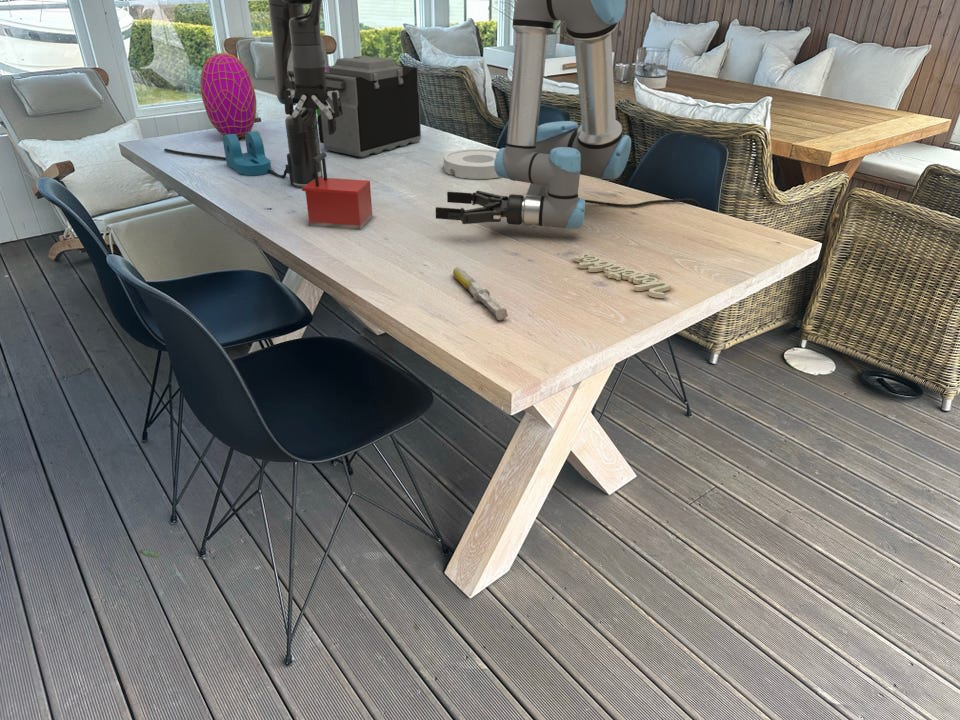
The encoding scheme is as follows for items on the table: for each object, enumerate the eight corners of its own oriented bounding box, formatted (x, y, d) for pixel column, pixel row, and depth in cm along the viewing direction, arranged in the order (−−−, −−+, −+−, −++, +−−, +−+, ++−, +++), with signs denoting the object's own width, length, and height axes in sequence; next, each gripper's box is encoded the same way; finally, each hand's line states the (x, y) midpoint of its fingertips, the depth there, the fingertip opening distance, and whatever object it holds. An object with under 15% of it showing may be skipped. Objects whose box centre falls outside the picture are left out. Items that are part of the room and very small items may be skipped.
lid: (302, 190, 177) (298, 159, 173) (317, 180, 186) (313, 149, 182) (357, 194, 175) (355, 162, 171) (370, 183, 184) (367, 152, 180)
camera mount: (227, 164, 233) (221, 132, 227) (257, 160, 238) (252, 129, 233) (244, 176, 220) (239, 143, 215) (276, 172, 225) (271, 139, 220)
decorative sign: (686, 282, 150) (660, 295, 144) (686, 286, 150) (659, 300, 144) (592, 249, 166) (565, 259, 160) (592, 253, 167) (565, 263, 161)
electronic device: (383, 133, 276) (378, 52, 261) (425, 141, 265) (422, 56, 250) (314, 150, 251) (304, 61, 235) (358, 160, 240) (350, 67, 224)
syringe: (449, 274, 155) (449, 263, 153) (465, 272, 156) (464, 260, 154) (490, 323, 135) (491, 310, 133) (508, 319, 136) (508, 307, 134)
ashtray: (446, 160, 241) (446, 148, 239) (512, 161, 241) (512, 149, 239) (441, 178, 221) (440, 165, 219) (512, 179, 221) (513, 167, 219)
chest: (309, 225, 182) (305, 191, 177) (323, 213, 191) (320, 180, 186) (360, 229, 180) (357, 194, 175) (372, 217, 188) (370, 183, 184)
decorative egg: (226, 145, 255) (211, 58, 240) (200, 137, 266) (184, 53, 251) (271, 137, 268) (259, 54, 252) (244, 129, 279) (231, 49, 263)
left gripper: (274, 65, 164) (283, 135, 172) (330, 67, 162) (337, 138, 170) (287, 61, 170) (295, 128, 179) (342, 63, 168) (347, 131, 176)
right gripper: (516, 241, 166) (430, 234, 169) (528, 209, 187) (452, 204, 190) (517, 211, 162) (430, 205, 165) (529, 182, 183) (451, 177, 186)
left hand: (316, 133), depth 174 cm, fingers open, 8 cm apart
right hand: (441, 204), depth 177 cm, fingers open, 13 cm apart
